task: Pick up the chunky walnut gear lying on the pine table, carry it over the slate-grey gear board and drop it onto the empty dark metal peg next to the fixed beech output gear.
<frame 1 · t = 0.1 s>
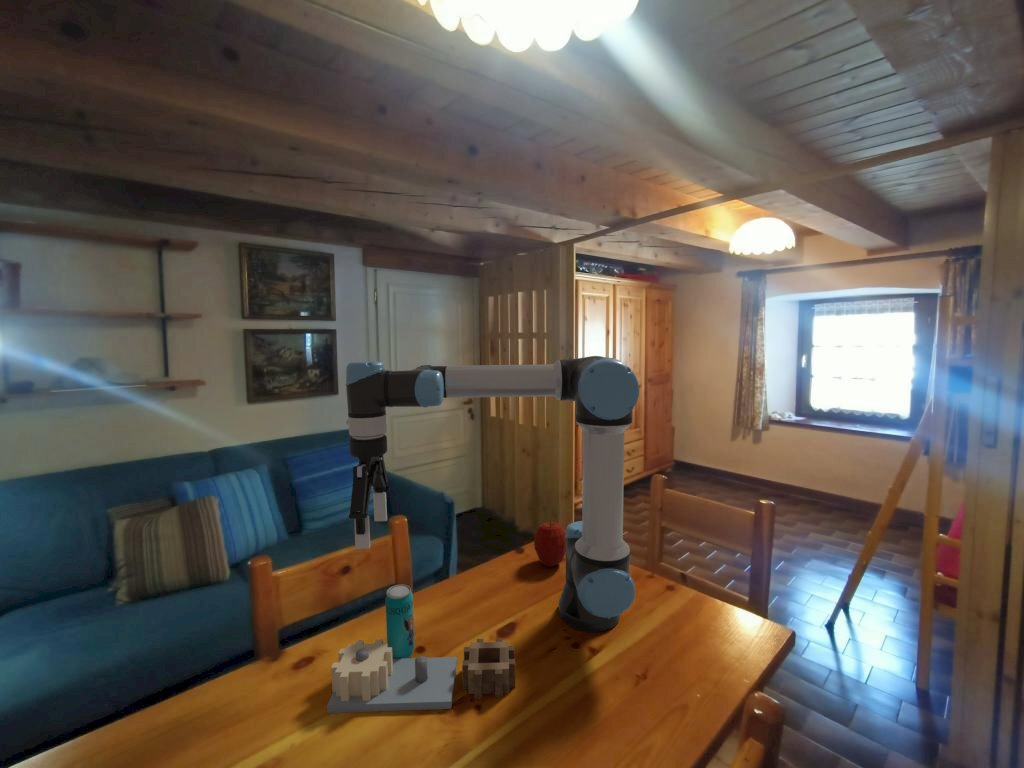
hand: (372, 533, 98), 28 cm above the table, fingers open, 13 cm apart
walnut gear: (489, 678, 94), on the table
gear board: (396, 686, 92), on the table
beverage can: (401, 656, 101), on the table
apple: (550, 564, 141), on the table
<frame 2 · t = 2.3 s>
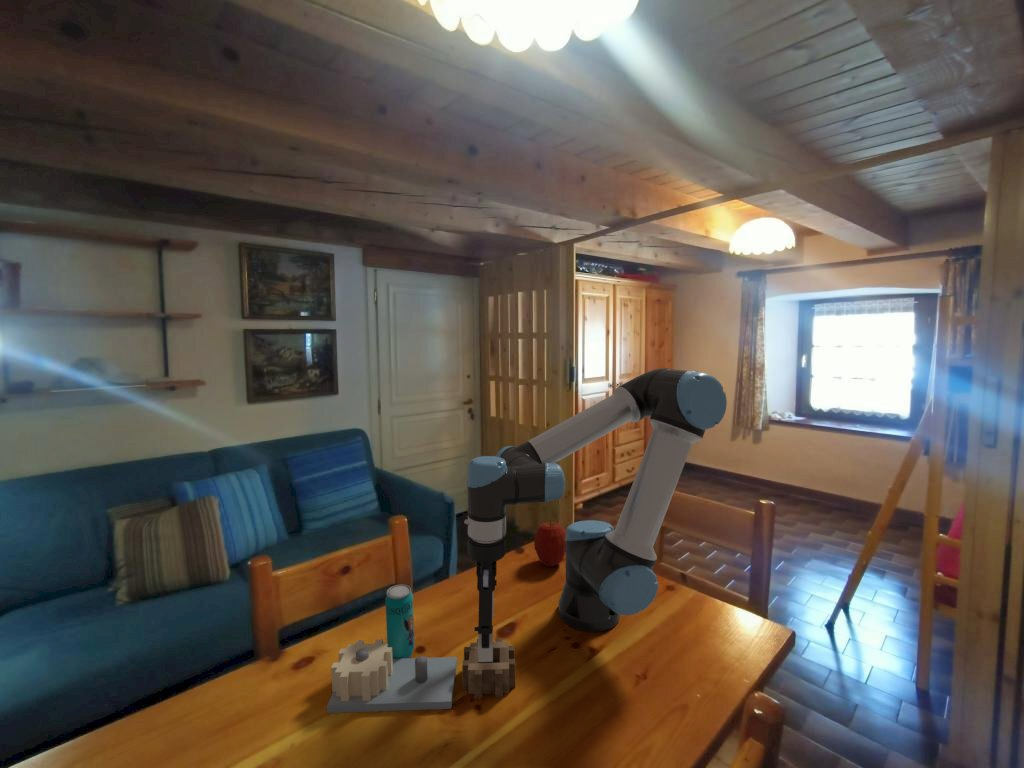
hand: (486, 637, 93), 9 cm above the table, fingers open, 13 cm apart
nothing on the table moved.
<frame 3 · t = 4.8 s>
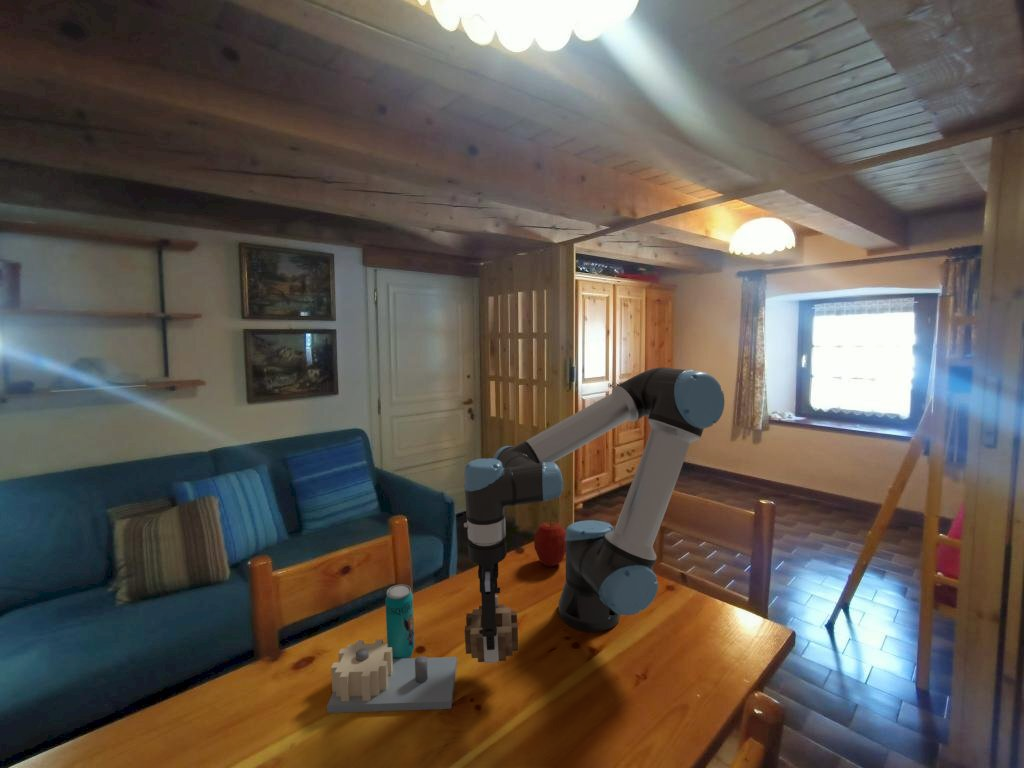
hand: (492, 641, 93), 8 cm above the table, fingers closed on walnut gear, 10 cm apart
walnut gear: (492, 643, 93), point 7 cm above the table, touching gripper
everything else where it was.
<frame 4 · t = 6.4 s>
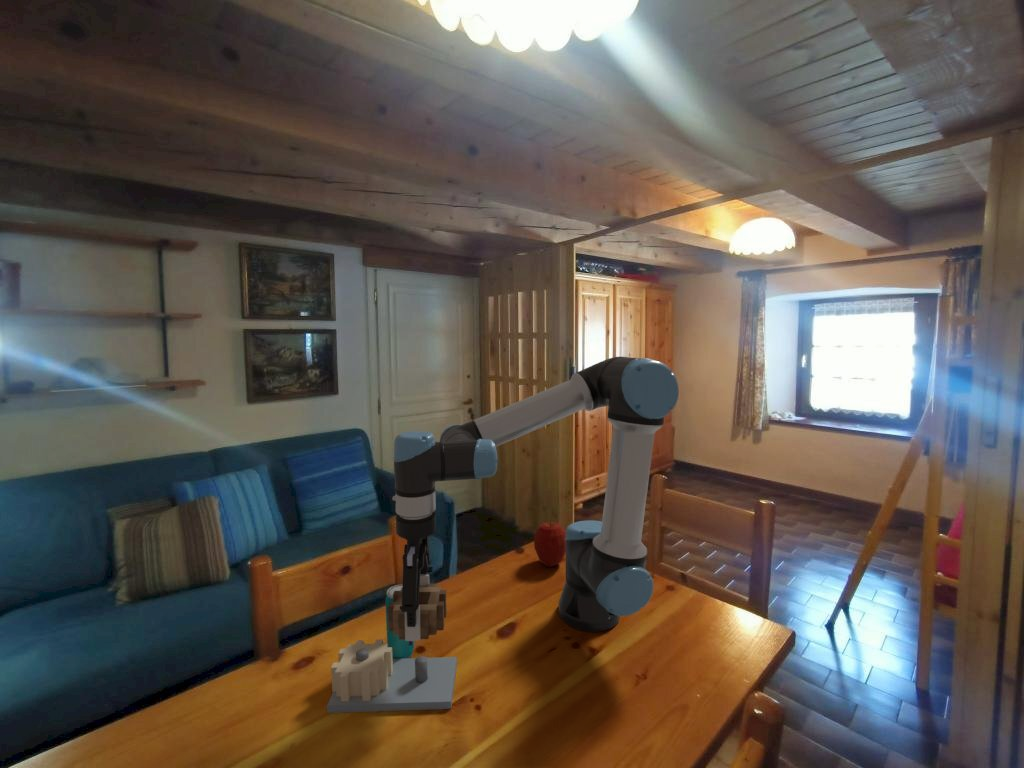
hand: (418, 621, 91), 14 cm above the table, fingers closed on walnut gear, 10 cm apart
walnut gear: (418, 622, 91), point 14 cm above the table, touching gripper
everything else where it was.
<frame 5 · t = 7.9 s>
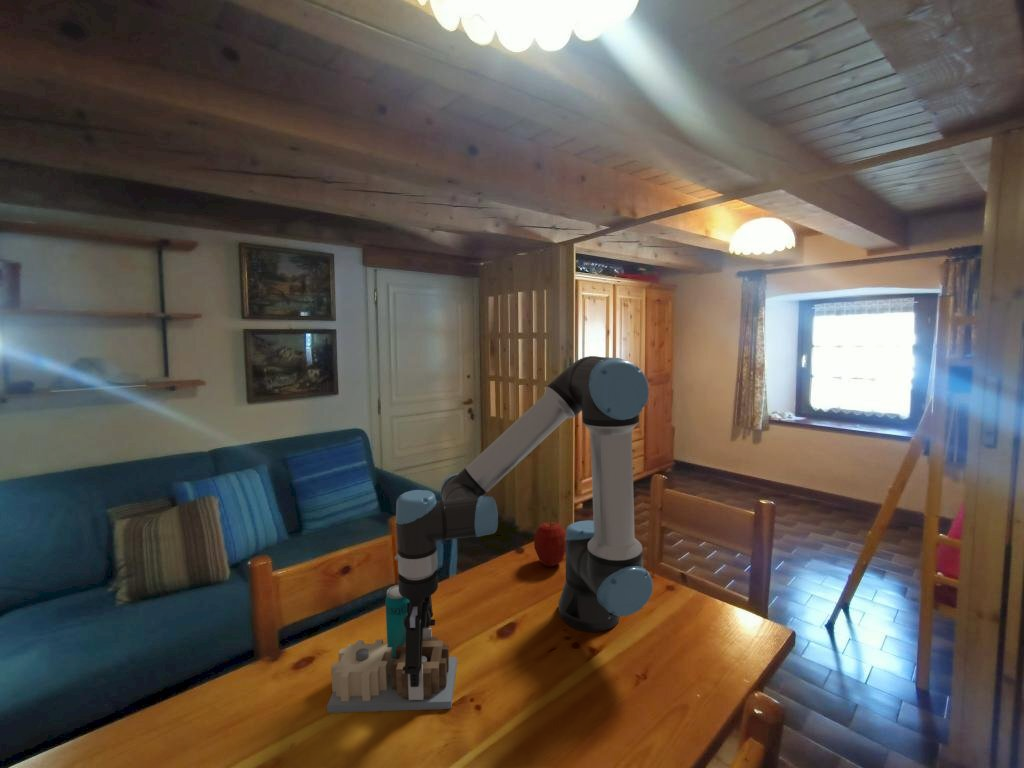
hand: (421, 676, 92), 2 cm above the table, fingers closed on walnut gear, 10 cm apart
walnut gear: (421, 677, 92), point 2 cm above the table, touching gripper
everything else where it was.
when the fingers open (2 cm above the table, at t = 8.4 s): walnut gear stays where it is, resting on gear board.
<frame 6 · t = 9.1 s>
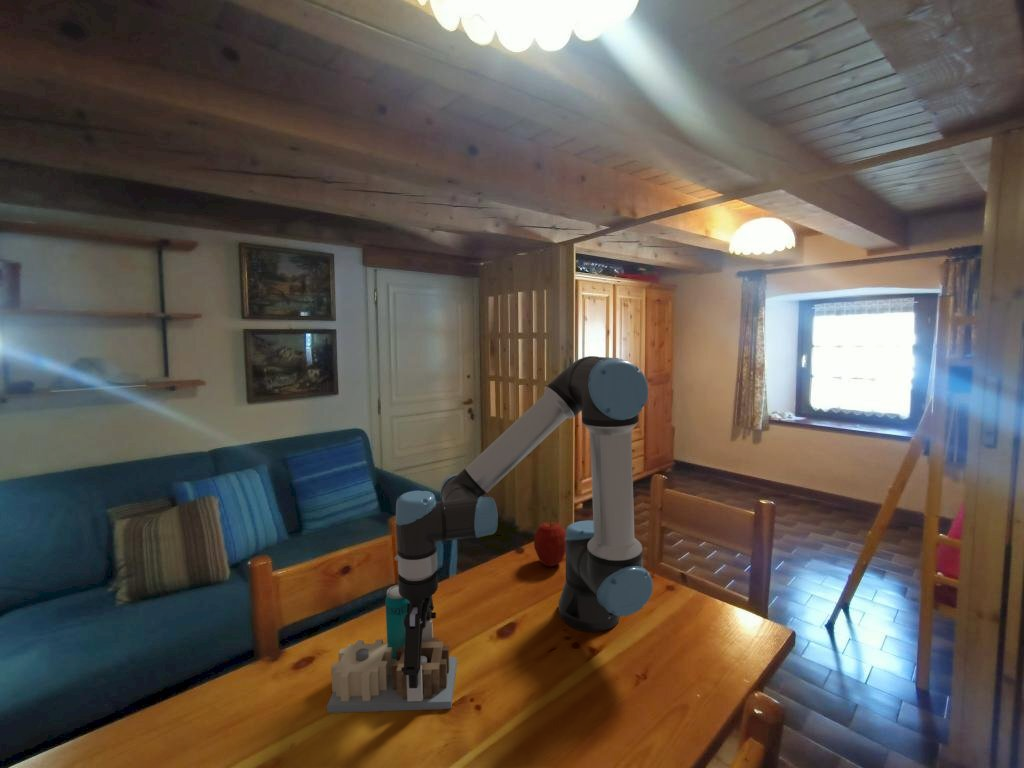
hand: (421, 673, 92), 3 cm above the table, fingers open, 13 cm apart
walnut gear: (421, 678, 92), point 1 cm above the table, touching gear board
everything else where it was.
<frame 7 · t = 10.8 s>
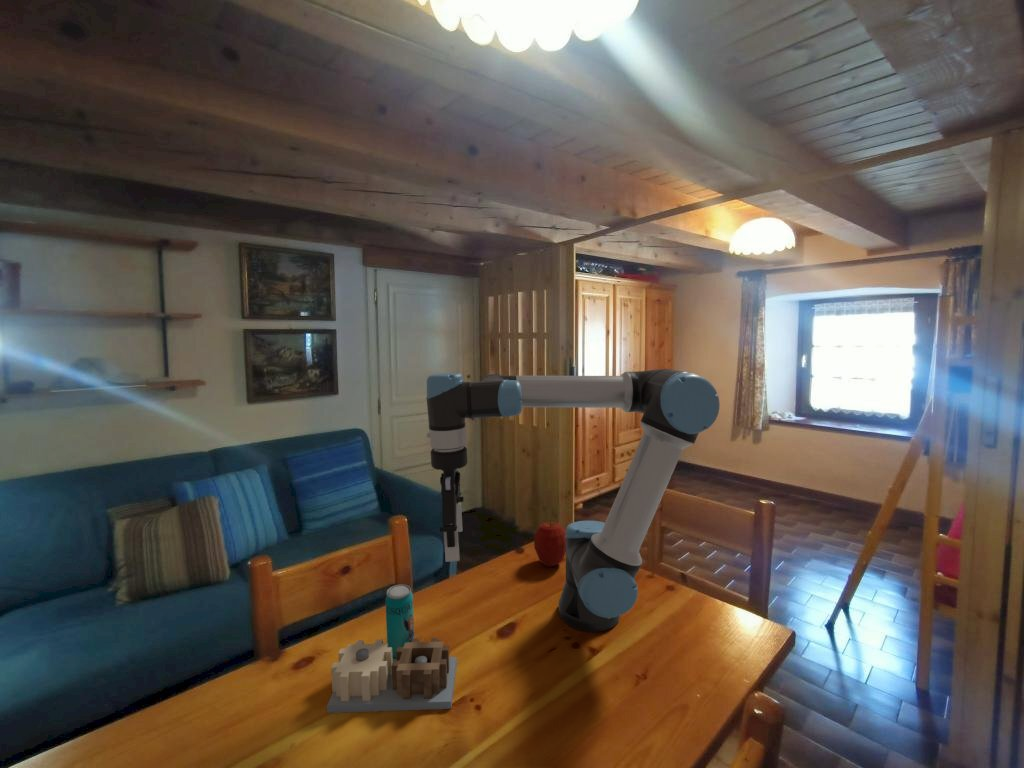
hand: (454, 545, 98), 25 cm above the table, fingers open, 13 cm apart
nothing on the table moved.
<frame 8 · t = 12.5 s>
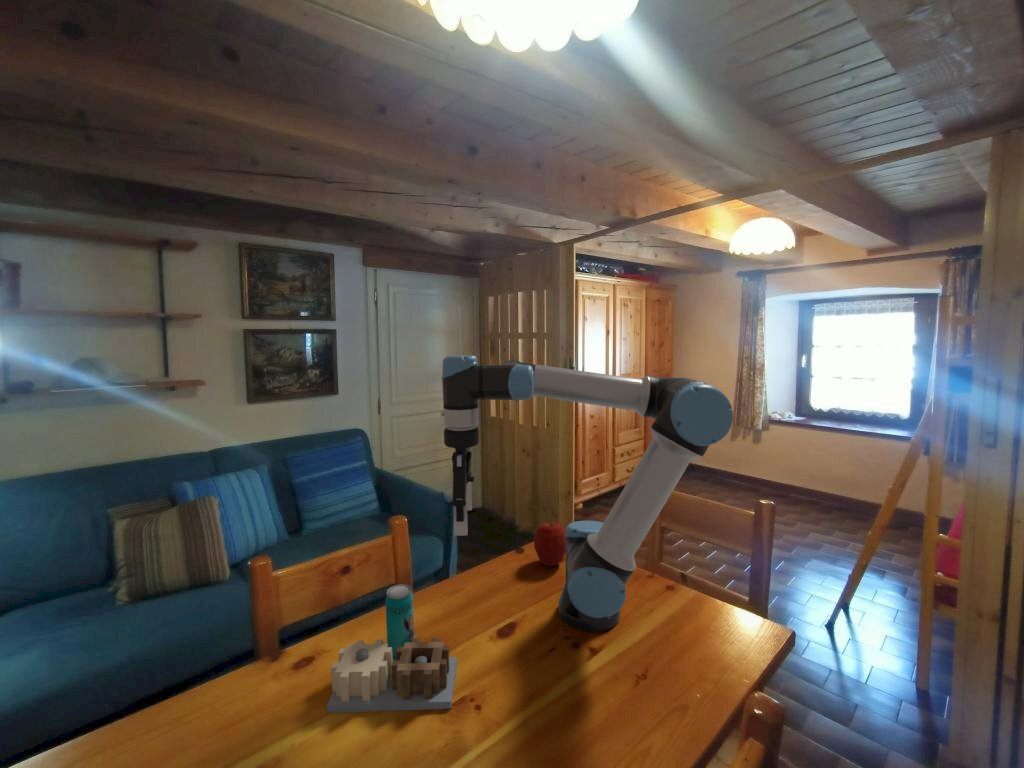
hand: (463, 521, 102), 29 cm above the table, fingers open, 13 cm apart
nothing on the table moved.
at the end: walnut gear 0.1 cm from the target spot on the gear board, point 1.5 cm above the gear board's base; the gripper is holding nothing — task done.
